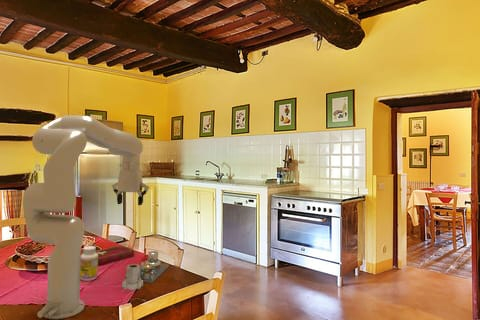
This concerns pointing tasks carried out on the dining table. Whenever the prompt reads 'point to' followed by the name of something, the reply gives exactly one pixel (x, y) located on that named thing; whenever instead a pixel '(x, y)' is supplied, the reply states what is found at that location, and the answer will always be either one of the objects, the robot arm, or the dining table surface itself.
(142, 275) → the carrier
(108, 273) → the dining table surface
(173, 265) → the dining table surface
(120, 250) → the hardcover book
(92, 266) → the supplement bottle
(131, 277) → the grey flanged socket
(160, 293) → the dining table surface
